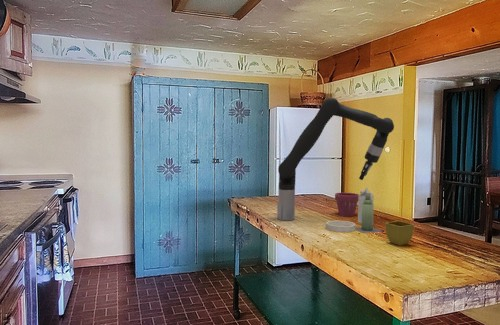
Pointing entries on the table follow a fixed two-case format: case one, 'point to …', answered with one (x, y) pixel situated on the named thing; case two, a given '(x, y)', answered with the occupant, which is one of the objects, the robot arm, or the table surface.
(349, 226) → the bowl
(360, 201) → the milk carton
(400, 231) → the flower pot
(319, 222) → the table surface
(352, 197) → the plant pot
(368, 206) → the olive bottle
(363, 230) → the mat
